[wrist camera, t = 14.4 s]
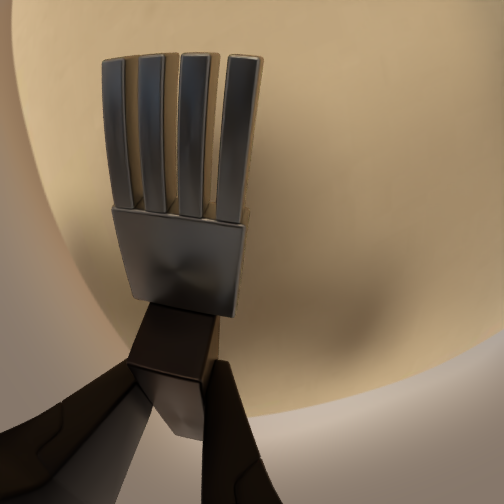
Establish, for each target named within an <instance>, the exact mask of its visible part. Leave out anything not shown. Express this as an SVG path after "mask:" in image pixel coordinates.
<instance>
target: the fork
mask: <svg viewBox="0 0 504 504" xmlns="http://www.w3.org/2000/svg"><path fill="white" fill-rule="evenodd" d="M263 63H264V59H263V57H261V56H253V55H243V54H231V55H229V57H228V62H227V71H226V80H225V91H224V101H223V112H222V124H221V137H220V150H219V164H218V180H217V198H216V203H215V202H209V201H210V194H211V172H212V154H213V138H214V123H215V110H216V98H217V86H218V76H219V66H220V54H219V53H208V52H191V53H183V54H182V55H181V60H180V76H179V97H178V139H177V160H178V198H176V196H177V174H176V119H177V89H178V70H179V53H156V54H146V55H133V56H124V57H118V58H112V59H106V60H104V61H102V101H103V118H104V131H105V142H106V151H107V159H108V167H109V174H110V181H111V187H112V194H113V199H114V205H113V206H112V215H113V220H114V225H115V229H116V234H117V238H118V243H119V247H120V251H121V255H122V259H123V263H124V266H125V270H126V274H127V277H128V281H129V284H130V288H131V291H132V294H133V297H134V298H135V299H139V300H143V301H148V302H150V304H149V306H148V308H147V311H146V313H145V315H144V318H143V320H142V323H141V325H140V328H139V330H138V333H137V335H136V338H135V340H134V343H133V346H132V348H131V351H130V353H129V356H128V359H127V361H126V364H127V366H128V368H129V369H130V371H131V373H132V374H133V376H134V378H135V379H136V381H137V382H138V384H139V385H140V387H141V388H142V390H143V391H144V393H145V394H146V396H147V397H148V399H149V400H150V402H151V403H152V404H153V406H154V407H155V409H156V410H157V411H158V413H159V414H160V416H161V417H162V418H163V419H164V421H165V422H166V423H167V425H168V426H169V428H170V429H171V430H172V431H173V433H174V434H175V435H177V436H181V437H186V438H190V439H195V440H200V441H203V425H204V406H205V395H206V391H207V387H208V383H209V380H210V376H211V372H212V369H213V365H214V362H215V360H216V359H218V353H219V328H220V316H224V317H230V318H234V317H235V315H236V310H237V305H238V299H239V291H240V284H241V276H242V268H243V261H244V253H245V246H246V238H247V231H248V223H249V216H250V211H249V208H247V207H245V201H246V193H247V185H248V177H249V169H250V161H251V153H252V145H253V137H254V130H255V122H256V115H257V107H258V100H259V92H260V85H261V78H262V70H263Z"/></svg>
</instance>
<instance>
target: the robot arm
mask: <svg viewBox="0 0 504 504" xmlns="http://www.w3.org/2000/svg"><path fill="white" fill-rule="evenodd" d="M127 359H128V358H127ZM127 359H125V360H124V361H122V362H121V363H119V364H118V365H116V366H115V367H113V368H112V369H110V370H109V371H107V372H106V373H104V374H103V375H101V376H100V377H98V378H96V379H95V380H93V381H92V382H90V383H89V384H87V385H86V386H84V387H83V388H81V389H80V390H78V391H77V392H75V393H74V394H72V395H70V396H69V397H67V398H66V399H64V400H63V401H62V402H60V403H58V404H56V405H55V406H53V407H51V408H50V409H48V410H46V411H45V412H43V413H41V414H40V415H38V416H36V417H34V418H32V419H30V420H28V421H26V422H24V423H22V424H20V425H18V426H15V427H13V428H11V429H9V430H6V431H4V432H2V433H0V504H115V502H116V499H117V497H118V494H119V492H120V489H121V486H122V484H123V481H124V479H125V476H126V474H127V471H128V469H129V466H130V463H131V461H132V458H133V456H134V454H135V451H136V448H137V446H138V444H139V441H140V438H141V436H142V434H143V431H144V429H145V427H146V424H147V422H148V419H149V417H150V414H151V411H152V407H153V404H152V403H151V402H150V400H149V399H148V397H147V396H146V394H145V393H144V391H143V390H142V388H141V387H140V385H139V384H138V382H137V381H136V379H135V378H134V376H133V374H132V373H131V371H130V369H129V368H128V366H127V364H126V361H127ZM260 457H261V456H260V453H259V450H258V447H257V445H256V442H255V439H254V436H253V434H252V431H251V428H250V425H249V422H248V419H247V416H246V413H245V410H244V407H243V404H242V401H241V398H240V395H239V392H238V389H237V386H236V383H235V380H234V376H233V373H232V370H231V367H230V364H229V362H228V361H224V360H218V359H216V360H215V362H214V365H213V369H212V372H211V376H210V380H209V383H208V387H207V391H206V395H205V406H204V425H203V449H202V484H201V485H202V486H201V488H202V489H201V504H283V503H282V502H281V500H280V498H279V496H278V494H277V492H276V491H275V489H274V487H273V485H272V482H271V480H270V478H269V476H268V473H267V471H266V469H265V466H264V463H263V461H262V459H261V458H260Z"/></svg>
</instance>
